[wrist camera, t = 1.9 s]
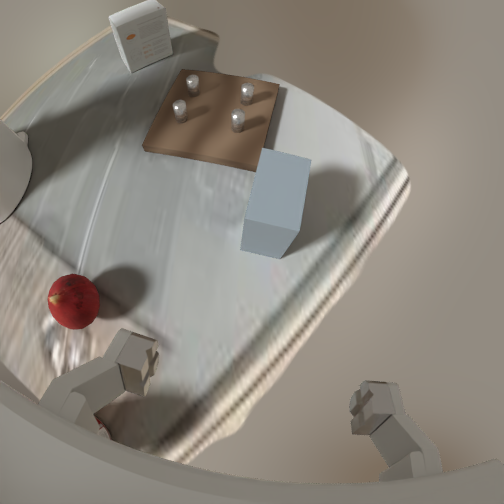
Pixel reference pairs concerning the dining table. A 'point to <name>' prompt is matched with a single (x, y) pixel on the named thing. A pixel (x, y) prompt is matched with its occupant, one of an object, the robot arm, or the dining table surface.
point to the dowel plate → (214, 119)
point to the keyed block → (275, 203)
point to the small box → (142, 34)
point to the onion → (74, 301)
